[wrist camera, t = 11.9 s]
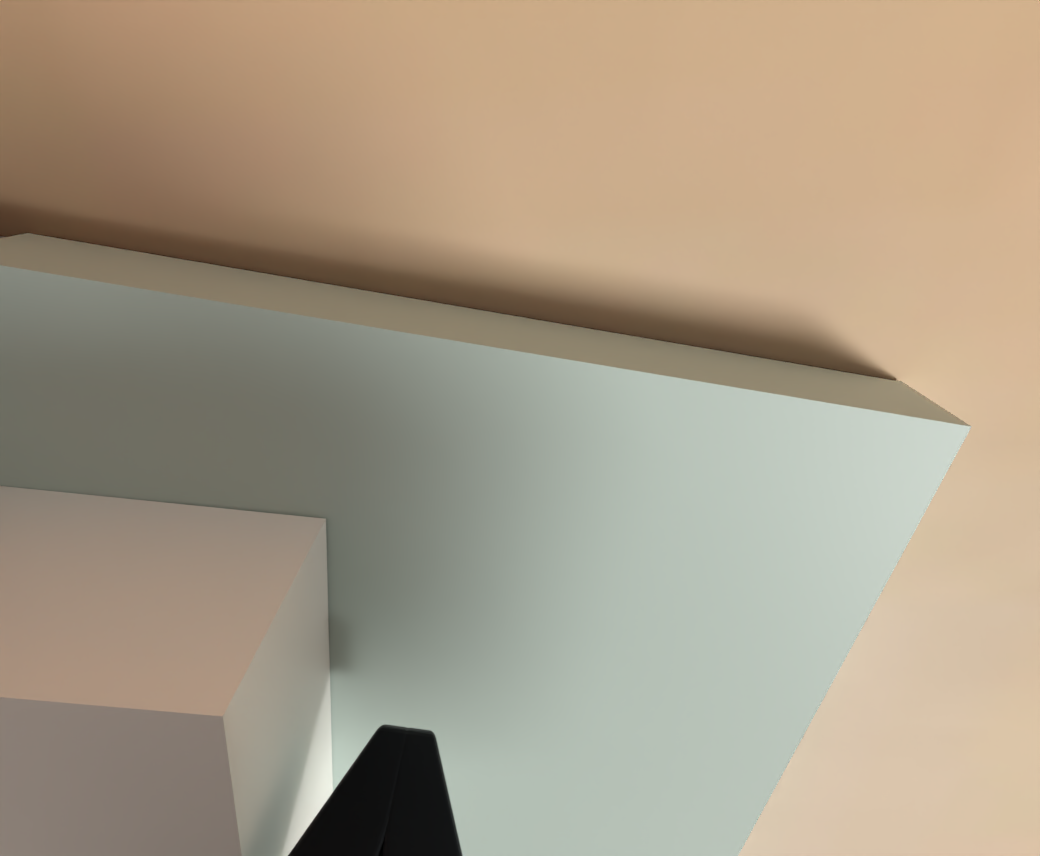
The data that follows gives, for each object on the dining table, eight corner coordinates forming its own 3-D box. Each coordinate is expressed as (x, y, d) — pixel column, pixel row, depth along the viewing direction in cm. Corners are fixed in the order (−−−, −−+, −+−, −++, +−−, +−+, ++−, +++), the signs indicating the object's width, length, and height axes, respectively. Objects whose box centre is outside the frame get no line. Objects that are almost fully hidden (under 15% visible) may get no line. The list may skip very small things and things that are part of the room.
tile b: (333, 807, 11) (266, 1040, 8) (-25, 778, 10) (-223, 1009, 8) (325, 519, 8) (222, 716, 5) (-153, 470, 8) (-522, 651, 5)
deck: (600, 1017, 17) (607, 1094, 15) (153, 976, 16) (119, 1054, 15) (901, 381, 9) (972, 426, 7) (27, 232, 8) (-75, 253, 7)
